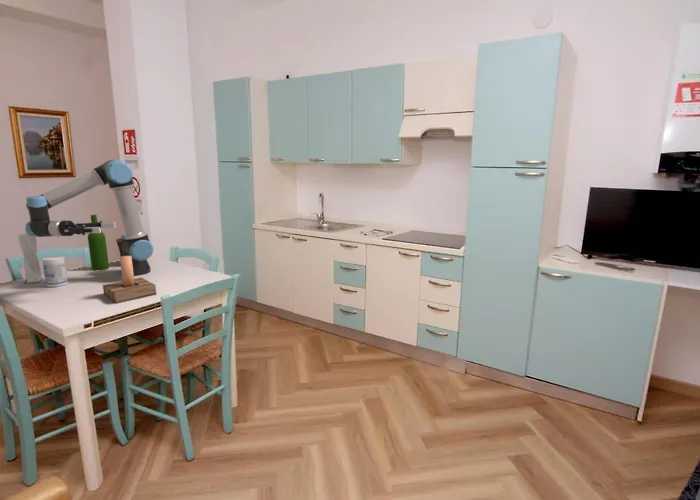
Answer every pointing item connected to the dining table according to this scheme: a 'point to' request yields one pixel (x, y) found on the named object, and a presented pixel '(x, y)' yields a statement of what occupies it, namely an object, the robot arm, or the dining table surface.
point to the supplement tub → (55, 271)
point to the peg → (127, 271)
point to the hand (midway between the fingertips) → (107, 227)
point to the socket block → (129, 290)
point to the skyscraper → (30, 258)
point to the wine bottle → (98, 249)
